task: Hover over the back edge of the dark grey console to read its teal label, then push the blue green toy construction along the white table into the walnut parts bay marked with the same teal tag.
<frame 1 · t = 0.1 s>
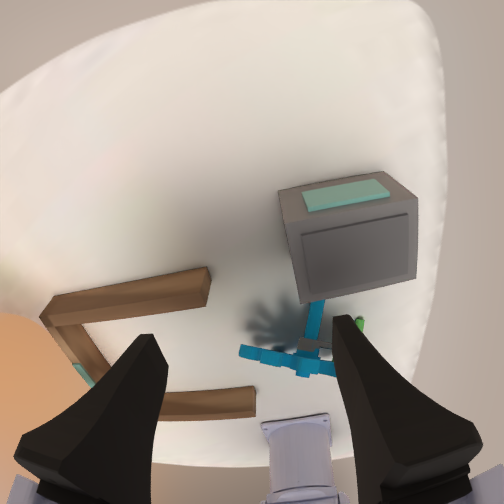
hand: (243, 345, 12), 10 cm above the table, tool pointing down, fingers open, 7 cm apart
parts bay: (161, 350, 27), on the table
blue green toy construction: (306, 327, 25), on the table
console: (337, 216, 20), on the table
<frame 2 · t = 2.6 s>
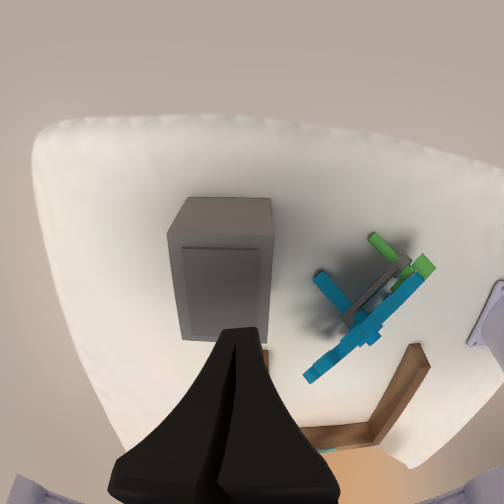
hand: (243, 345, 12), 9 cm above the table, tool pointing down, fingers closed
parts bay: (328, 395, 28), on the table
blue green toy construction: (356, 288, 22), on the table
console: (229, 248, 20), on the table
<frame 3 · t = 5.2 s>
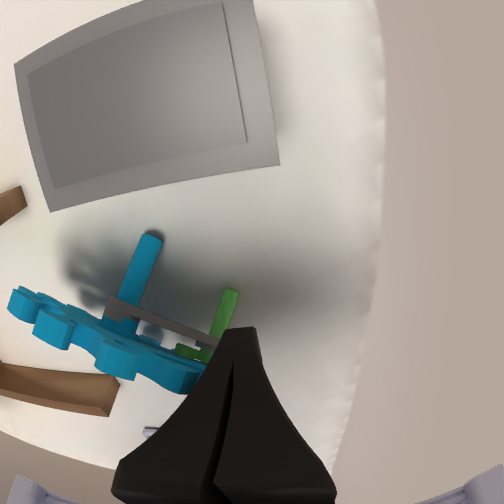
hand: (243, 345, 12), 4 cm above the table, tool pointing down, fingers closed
parts bay: (6, 308, 17), on the table
blue green toy construction: (148, 291, 16), on the table, touching gripper
console: (174, 93, 11), on the table
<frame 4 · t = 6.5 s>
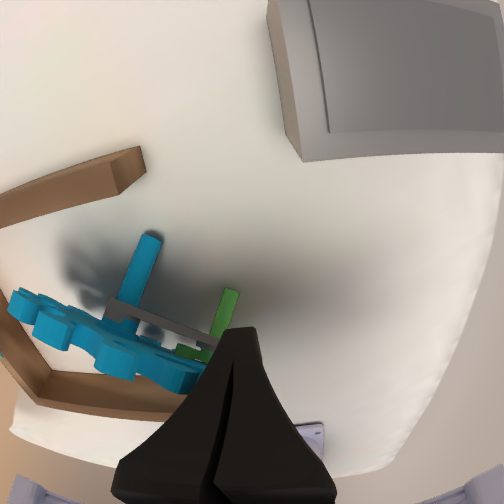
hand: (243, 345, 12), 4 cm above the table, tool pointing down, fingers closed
parts bay: (77, 304, 16), on the table
blue green toy construction: (149, 291, 16), on the table, touching gripper
console: (363, 69, 10), on the table
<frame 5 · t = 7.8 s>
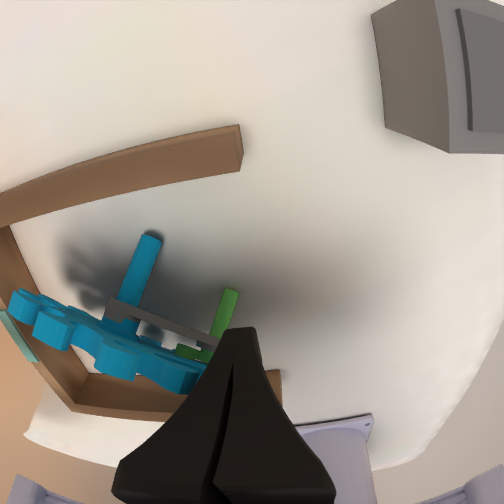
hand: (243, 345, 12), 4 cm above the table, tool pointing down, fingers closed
parts bay: (135, 299, 16), on the table
blue green toy construction: (149, 291, 16), on the table, touching gripper
console: (448, 74, 10), on the table
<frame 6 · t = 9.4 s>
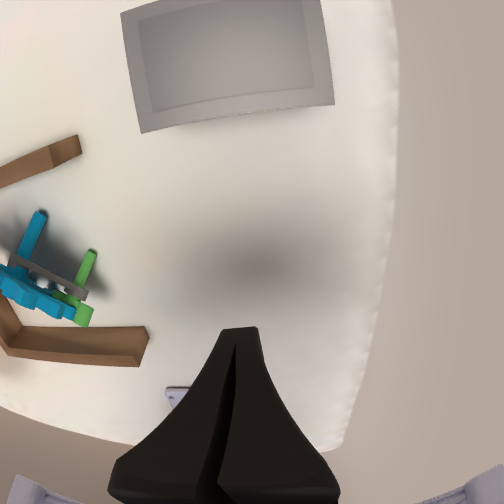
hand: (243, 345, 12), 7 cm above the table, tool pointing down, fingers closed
parts bay: (39, 261, 19), on the table
blue green toy construction: (47, 254, 19), on the table
console: (234, 60, 13), on the table
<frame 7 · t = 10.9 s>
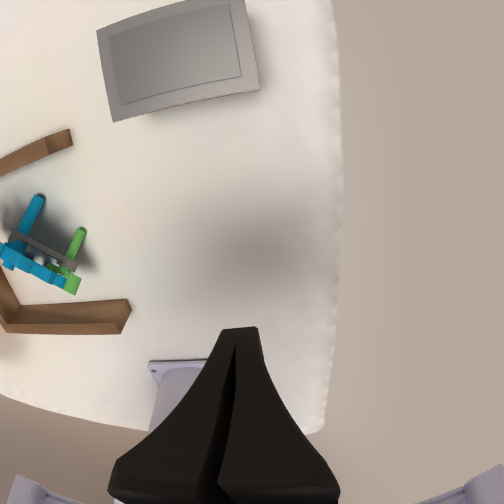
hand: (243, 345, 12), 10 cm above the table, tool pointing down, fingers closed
parts bay: (36, 241, 22), on the table
blue green toy construction: (43, 233, 22), on the table
console: (194, 62, 16), on the table
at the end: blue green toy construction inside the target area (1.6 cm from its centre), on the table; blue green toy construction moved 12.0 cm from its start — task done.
